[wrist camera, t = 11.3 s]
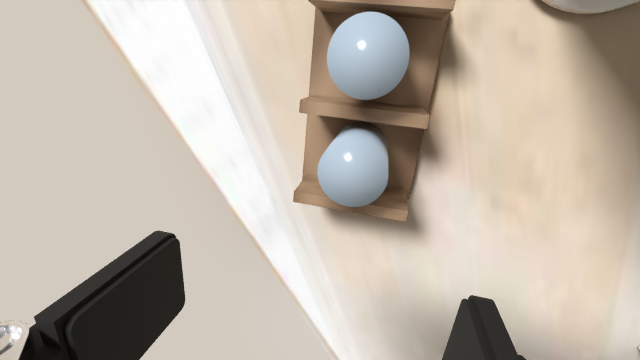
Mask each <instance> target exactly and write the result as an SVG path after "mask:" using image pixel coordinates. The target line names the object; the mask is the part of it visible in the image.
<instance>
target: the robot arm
mask: <svg viewBox="0 0 640 360" xmlns="http://www.w3.org/2000/svg"><path fill="white" fill-rule="evenodd" d="M542 1H543V2H544V3H546V4H547V5H549V6H551V7H554V8H556V9H559V10H561V11H565V12H571V13H577V14H589V13H601V12H606V11H611V10H615V9H619V8H622V7H626V6H629V5H632V4H635V3H637V2H639V1H640V0H542ZM184 303H185V292H184V282H183V272H182V262H181V252H180V243H179V240H178V239H176V236H175V235H174V234H172V233H167V232H163V231H155V232H153V233H152V234H151V235H149V236H148V237H146V238H145V239H143V240H142V241H141V242H139V243H138V244H136V245H135V246H134V247H132V248H131V249H129V250H128V251H126V252H125V253H124V254H122V255H121V256H119V257H118V258H117V259H115V260H114V261H112V262H111V263H109V264H108V265H107V266H105V267H104V268H102V269H101V270H100V271H98V272H97V273H95V274H94V275H92V276H91V277H90V278H88V279H87V280H85V281H84V282H83V283H81V284H80V285H78V286H77V287H76V288H74V289H73V290H71V291H70V292H68V293H67V294H66V295H64V296H63V297H61V298H60V299H59V300H57V301H56V302H54V303H53V304H52V305H50V306H49V307H47V308H46V309H45V310H43V311H42V312H40V313H39V314H37V315H36V316H35V317H34V318H35V321H36V324H35V325H33V326H32V327H30V328H29V327H28V326H27V324H26V323H24V322H22V321H5V322H0V360H139V359H140V358H141V357H142V356H143V355H144V353H145V352H146V351H147V350H148V348H149V347H150V346H151V345H152V344H153V343H154V342H155V340H156V339H157V338H158V337H159V336H160V335H161V333H162V332H163V331H164V330H165V329H166V327H167V326H168V325H169V324H170V323H171V321H172V320H173V319H174V318H175V317H176V316H177V315H178V313H179V312H180V311H181V310H182V308H183V306H184ZM442 360H526V359H525V358H524V357H523V356H522V355H517V352H516V350H515V348H514V345H513V343H512V341H511V339H510V336H509V334H508V332H507V330H506V327H505V325H504V323H503V321H502V318H501V316H500V314H499V312H498V309H497V307H496V305H495V303H494V301H493V300H492V299H487V298H483V297H478V296H473V295H471V296H470V297H469V298H468V300H467V299H463V300H462V301H461V304H460V307H459V310H458V313H457V316H456V319H455V322H454V325H453V328H452V331H451V334H450V337H449V340H448V343H447V346H446V349H445V352H444V355H443V358H442Z"/></svg>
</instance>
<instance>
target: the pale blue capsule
mask: <svg viewBox="0 0 640 360" xmlns="http://www.w3.org/2000/svg"><path fill="white" fill-rule="evenodd" d="M408 62H409V44H408V40H407V37H406V35H405V32H404V31H403V29H402V28H401V26H400V25H399V24H398V23H397V22H396V21H395V20H394V19H392V18H391V17H389V16H387V15H385V14H382V13H379V12H363V13H359V14H356V15H354V16H352V17H350V18H348V19H347V20H345V21H344V22H343V23H342V24H341V25H340V26H339V27H338V28H337V30H336V31H335V32H334V34H333V36H332V38H331V40H330V43H329V47H328V52H327V65H328V70H329V73H330V76H331V78H332V80H333V82H334V83H335V85H336V86H337V87H338V88H339V89H340V90H341V91H342V92H344V93H345V94H347V95H348V96H350V97H353V98H356V99H361V100H369V99H375V98H379V97H381V96H383V95H385V94H387V93H389V92H390V91H391V90H393V89H394V88H395V87H396V86H397V85H398V84H399V82H400V81H401V79H402V78H403V76H404V74H405V72H406V69H407V66H408Z"/></svg>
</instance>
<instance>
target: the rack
mask: <svg viewBox="0 0 640 360" xmlns="http://www.w3.org/2000/svg"><path fill="white" fill-rule="evenodd" d="M308 1H309V2H311V3H312V4H313V5H314V6H315V7H316V10H315V23H314V36H313V49H312V62H311V75H310V88H309V97H307V98H304V99H301V100H300V110H299V113H306V114H307V127H306V140H305V153H304V165H303V178H302V182H301V183H300V184H299V186H298V187H297V188H296V190H295V191H294V199H293V202H297V203H303V204H309V205H314V206H320V207H326V208H331V209H337V210H342V211H348V212H354V213H359V214H365V215H371V216H376V217H382V218H387V219H393V220H399V221H404V222H406V220H407V216H408V205H407V199H409V194H410V190H411V185H412V181H413V176H414V172H415V167H416V163H417V158H418V154H419V149H420V144H421V140H422V135H423V131H424V129H427V126H428V122H429V117H430V115H429V114H428V108H429V103H430V99H431V94H432V90H433V85H434V81H435V76H436V72H437V67H438V63H439V58H440V53H441V49H442V44H443V40H444V35H445V31H446V26H447V22H448V17H449V13H450V12H451V11H452V10H453V9H454V5H455V1H456V0H308ZM363 12H379V13H382V14H385V15H387V16H389V17H391V18H392V19H394V20H395V21H396V22H397V23H398V24H399V25H400V26H401V28H402V29H403V31H404V32H405V35H406V37H407V40H408V44H409V62H408V66H407V69H406V72H405V74H404V76H403V78H402V79H401V81H400V82H399V84H398V85H397V86H396V87H395V88H394V89H393V90H391V91H390V92H389V93H387V94H385V95H383V96H381V97H379V98H375V99H369V100H361V99H356V98H353V97H350V96H348V95H347V94H345V93H344V92H342V91H341V90H340V89H339V88H338V87H337V86H336V85H335V83H334V82H333V80H332V78H331V76H330V73H329V70H328V65H327V52H328V47H329V43H330V40H331V38H332V36H333V34H334V32H335V31H336V30H337V28H338V27H339V26H340V25H341V24H342V23H343V22H344V21H345V20H347V19H348V18H350V17H352V16H354V15H356V14H359V13H363ZM357 121H365V122H369V123H372V124H374V125H376V126H377V127H379V128H380V129H381V130H382V131H383V133H384V134H385V136H386V138H387V141H388V182H387V185H386V188H385V190H384V191H383V193H382V194H381V195H380V196H379V197H378V198H377V199H376V200H375V201H373V202H372V203H370V204H367V205H364V206H360V207H348V206H344V205H341V204H338V203H336V202H335V201H333V200H332V199H330V198H329V197H328V196H327V195H326V194H325V193H324V191H323V190H322V188H321V186H320V184H319V180H318V174H317V170H318V164H319V161H320V159H321V157H322V155H323V154H324V152H325V151H326V149H327V148H328V147H329V145H330V144H331V143H332V141H333V140H334V139H335V137H336V136H337V135H338V133H339V132H340V131H341V130H342V129H343V128H344V127H345V126H347V125H348V124H350V123H353V122H357Z"/></svg>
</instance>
